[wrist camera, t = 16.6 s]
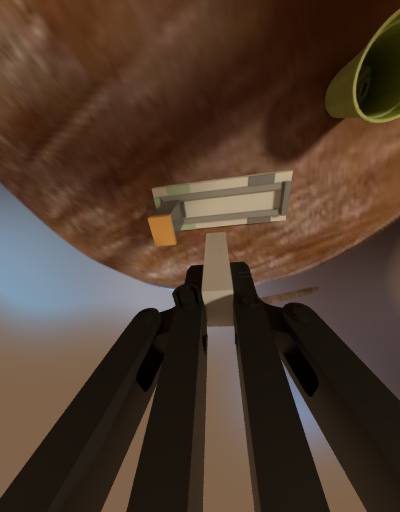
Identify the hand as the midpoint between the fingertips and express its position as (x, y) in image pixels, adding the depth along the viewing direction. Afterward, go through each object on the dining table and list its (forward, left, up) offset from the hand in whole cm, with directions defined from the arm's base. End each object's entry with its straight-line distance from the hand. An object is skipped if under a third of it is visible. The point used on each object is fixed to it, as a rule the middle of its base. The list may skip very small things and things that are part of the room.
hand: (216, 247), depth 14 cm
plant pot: (-24, -6, -23) cm, 34 cm away
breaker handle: (+8, 0, -21) cm, 23 cm away
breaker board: (-1, +2, -23) cm, 23 cm away
